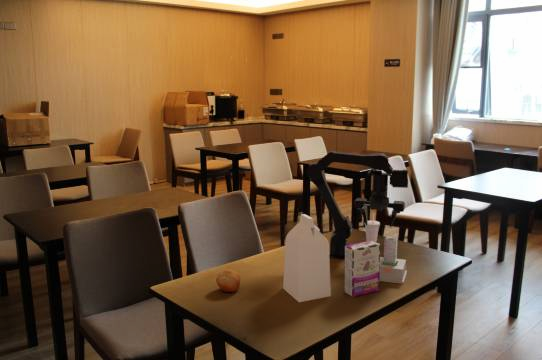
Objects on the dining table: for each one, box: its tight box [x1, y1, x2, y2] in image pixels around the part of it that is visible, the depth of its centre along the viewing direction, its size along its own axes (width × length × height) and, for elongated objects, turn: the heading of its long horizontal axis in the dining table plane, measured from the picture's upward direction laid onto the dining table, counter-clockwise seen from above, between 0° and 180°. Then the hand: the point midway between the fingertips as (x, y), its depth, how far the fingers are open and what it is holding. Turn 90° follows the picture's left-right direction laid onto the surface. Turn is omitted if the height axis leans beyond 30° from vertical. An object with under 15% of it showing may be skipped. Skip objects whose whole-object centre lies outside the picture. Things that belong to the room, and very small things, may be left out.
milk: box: [282, 213, 332, 303], centre depth 170 cm, size 12×12×26 cm
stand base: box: [379, 256, 408, 285], centre depth 185 cm, size 11×11×5 cm
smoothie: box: [364, 212, 381, 243], centre depth 218 cm, size 6×6×14 cm
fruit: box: [215, 268, 241, 293], centre depth 174 cm, size 8×8×8 cm
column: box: [383, 236, 399, 266], centre depth 183 cm, size 4×4×10 cm
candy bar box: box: [344, 240, 381, 298], centre depth 171 cm, size 11×5×16 cm, turn 117°
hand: (378, 226), depth 201 cm, fingers open, 9 cm apart
